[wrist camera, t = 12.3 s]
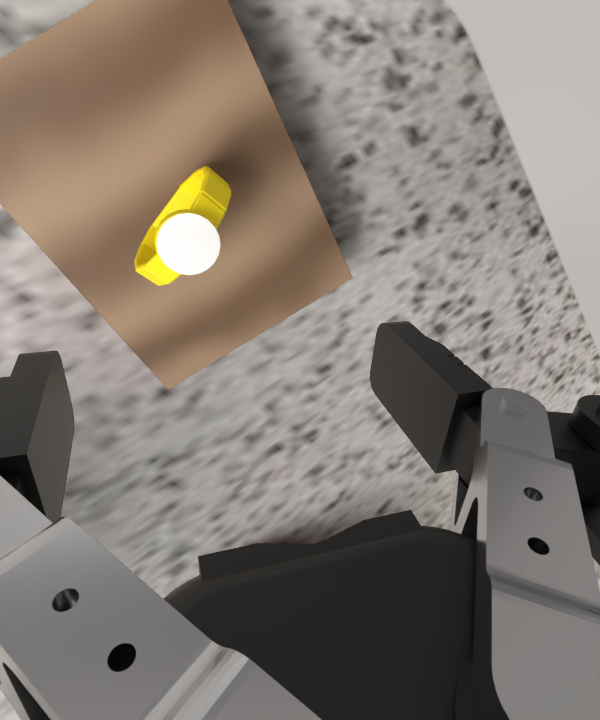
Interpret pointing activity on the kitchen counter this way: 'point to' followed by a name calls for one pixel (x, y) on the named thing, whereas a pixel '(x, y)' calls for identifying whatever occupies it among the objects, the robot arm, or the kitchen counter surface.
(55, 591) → the robot arm
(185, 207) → the watch
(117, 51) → the block
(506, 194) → the kitchen counter surface
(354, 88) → the kitchen counter surface
